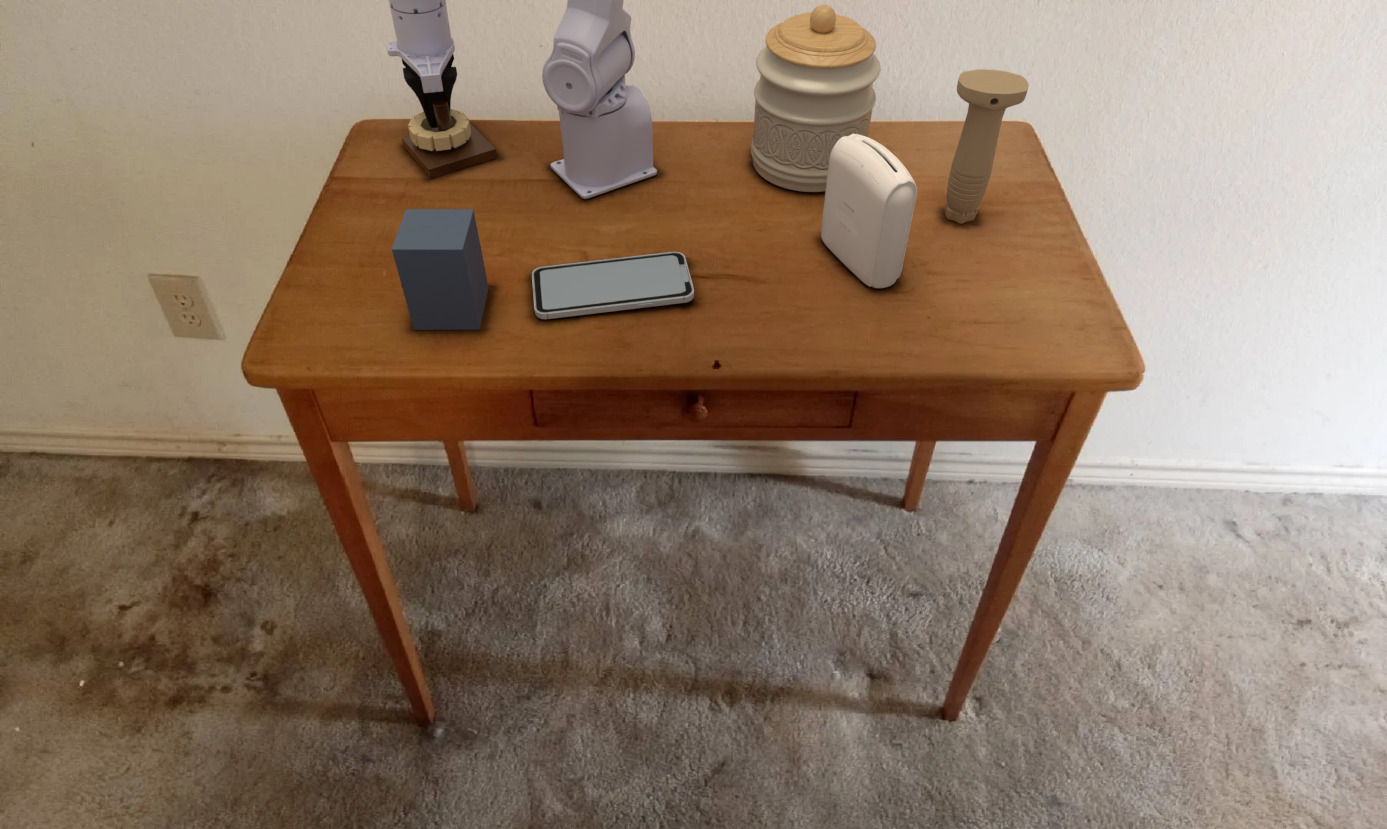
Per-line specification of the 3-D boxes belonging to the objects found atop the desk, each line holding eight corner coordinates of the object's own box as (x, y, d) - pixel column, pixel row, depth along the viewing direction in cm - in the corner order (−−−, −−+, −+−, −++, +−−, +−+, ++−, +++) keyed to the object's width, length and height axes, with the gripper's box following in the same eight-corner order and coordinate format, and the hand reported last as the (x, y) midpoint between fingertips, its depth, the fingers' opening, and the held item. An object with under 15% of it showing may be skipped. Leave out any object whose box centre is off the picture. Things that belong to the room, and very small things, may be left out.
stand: (468, 128, 109) (459, 78, 105) (497, 158, 104) (488, 107, 100) (403, 147, 106) (391, 96, 101) (430, 178, 101) (419, 127, 97)
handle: (992, 231, 95) (1031, 95, 84) (929, 227, 96) (961, 91, 85) (987, 205, 99) (1024, 71, 88) (927, 201, 99) (956, 67, 88)
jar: (740, 186, 101) (748, 26, 88) (760, 128, 110) (770, -25, 97) (858, 202, 99) (884, 40, 86) (869, 141, 108) (894, -13, 95)
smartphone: (531, 267, 89) (683, 250, 91) (532, 275, 90) (683, 258, 91) (534, 315, 84) (695, 296, 86) (536, 323, 85) (696, 304, 86)
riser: (489, 288, 88) (473, 208, 82) (479, 330, 84) (462, 249, 77) (426, 288, 88) (405, 208, 82) (413, 330, 84) (391, 249, 77)
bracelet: (456, 115, 108) (453, 102, 106) (480, 140, 104) (478, 127, 103) (402, 130, 105) (399, 117, 104) (425, 157, 101) (422, 144, 100)
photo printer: (813, 238, 94) (826, 127, 85) (848, 227, 96) (865, 117, 87) (868, 295, 88) (889, 182, 79) (905, 283, 89) (930, 171, 80)
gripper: (375, -24, 100) (399, 93, 109) (381, 36, 90) (407, 158, 100) (441, -28, 101) (459, 88, 111) (454, 30, 92) (473, 151, 102)
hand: (439, 121), depth 106 cm, fingers closed on bracelet, 2 cm apart
